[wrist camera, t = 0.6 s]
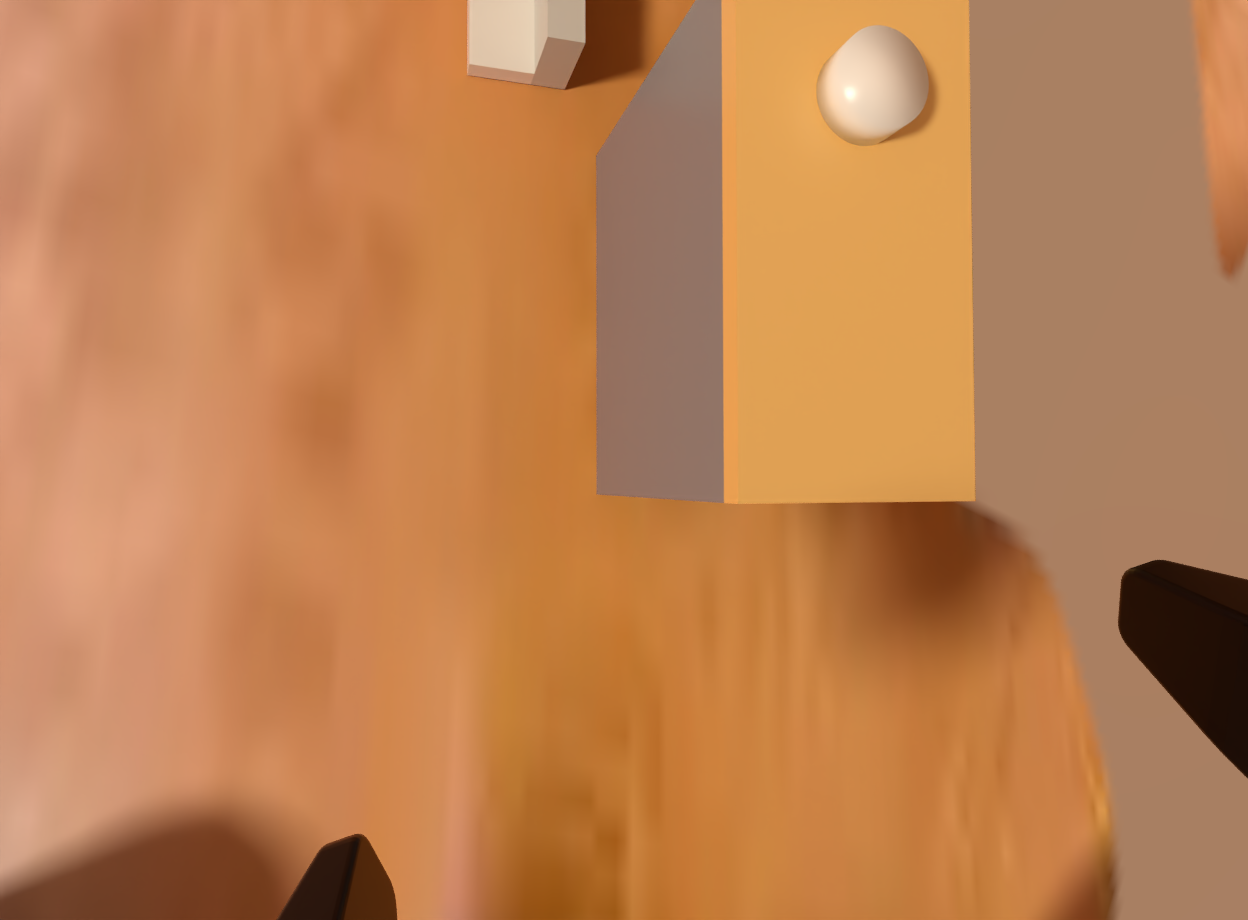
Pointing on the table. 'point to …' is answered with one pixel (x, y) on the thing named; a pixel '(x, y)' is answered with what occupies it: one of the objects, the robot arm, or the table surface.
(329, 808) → the table surface
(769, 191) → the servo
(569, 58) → the bracket
